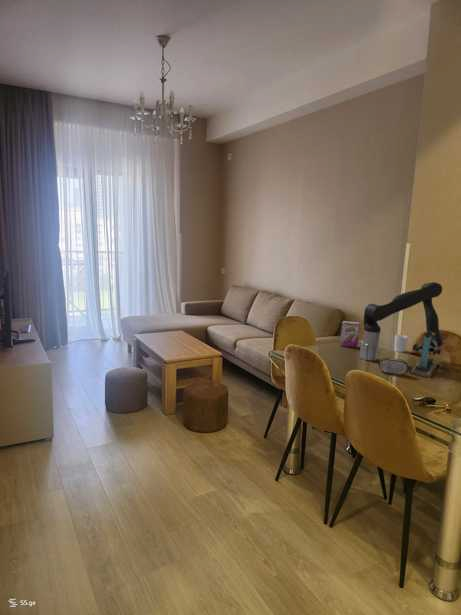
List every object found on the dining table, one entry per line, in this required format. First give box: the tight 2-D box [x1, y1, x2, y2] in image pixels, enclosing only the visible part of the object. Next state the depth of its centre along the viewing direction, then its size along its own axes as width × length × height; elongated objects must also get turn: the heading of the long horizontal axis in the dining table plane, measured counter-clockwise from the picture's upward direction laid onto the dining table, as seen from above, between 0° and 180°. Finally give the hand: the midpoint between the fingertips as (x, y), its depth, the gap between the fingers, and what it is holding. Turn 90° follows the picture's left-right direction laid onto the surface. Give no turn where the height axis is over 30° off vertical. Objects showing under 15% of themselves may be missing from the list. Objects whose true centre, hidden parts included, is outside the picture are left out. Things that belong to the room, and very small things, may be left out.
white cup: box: [393, 334, 409, 353], centre depth 282 cm, size 8×8×10 cm
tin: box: [378, 357, 409, 376], centre depth 232 cm, size 15×3×8 cm, turn 71°
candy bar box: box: [339, 320, 361, 349], centre depth 285 cm, size 11×5×16 cm, turn 77°
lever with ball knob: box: [417, 329, 434, 371], centre depth 240 cm, size 12×6×22 cm, turn 148°
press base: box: [409, 357, 439, 379], centre depth 245 cm, size 32×10×5 cm, turn 148°
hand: (425, 351), depth 236 cm, fingers open, 8 cm apart
